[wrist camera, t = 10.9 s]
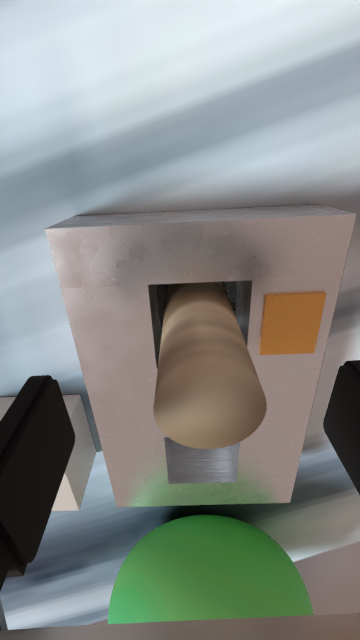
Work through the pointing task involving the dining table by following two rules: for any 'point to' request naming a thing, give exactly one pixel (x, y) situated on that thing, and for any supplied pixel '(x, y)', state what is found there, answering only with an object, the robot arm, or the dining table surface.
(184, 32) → the dining table surface
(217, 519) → the toy bird
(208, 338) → the peg
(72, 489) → the beige square block
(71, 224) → the plate
